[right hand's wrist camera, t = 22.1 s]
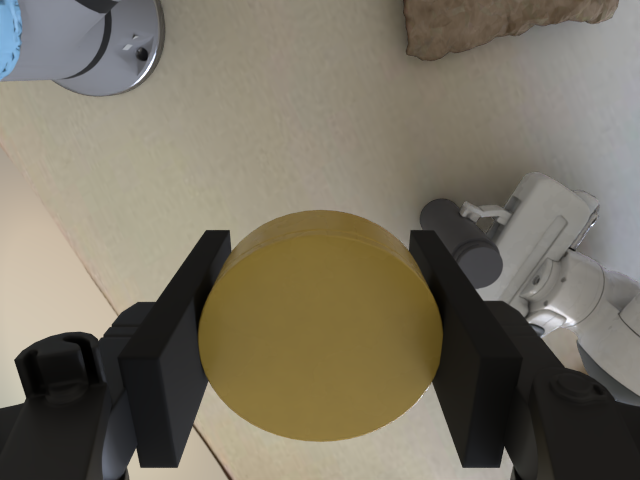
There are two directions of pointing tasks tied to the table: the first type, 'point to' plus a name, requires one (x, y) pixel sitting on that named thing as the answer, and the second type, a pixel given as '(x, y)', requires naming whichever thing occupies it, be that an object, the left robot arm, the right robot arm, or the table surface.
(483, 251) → the jar
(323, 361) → the lid
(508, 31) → the stone
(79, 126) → the table surface
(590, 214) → the left robot arm
